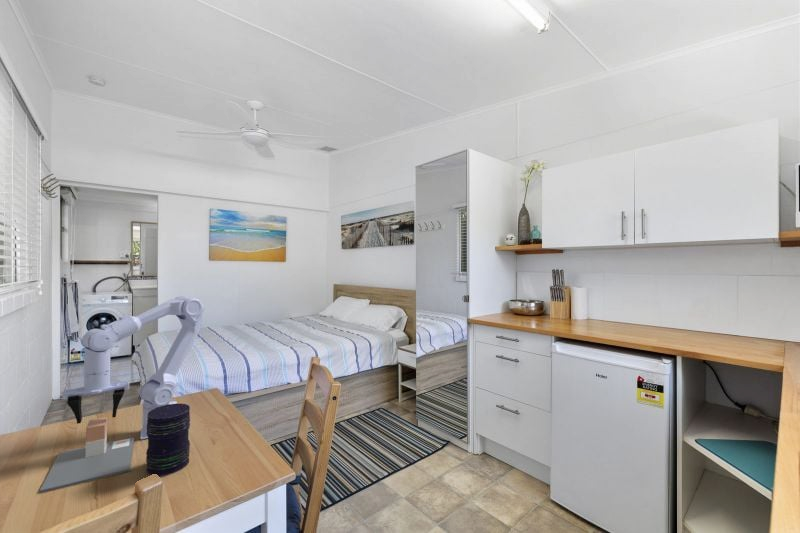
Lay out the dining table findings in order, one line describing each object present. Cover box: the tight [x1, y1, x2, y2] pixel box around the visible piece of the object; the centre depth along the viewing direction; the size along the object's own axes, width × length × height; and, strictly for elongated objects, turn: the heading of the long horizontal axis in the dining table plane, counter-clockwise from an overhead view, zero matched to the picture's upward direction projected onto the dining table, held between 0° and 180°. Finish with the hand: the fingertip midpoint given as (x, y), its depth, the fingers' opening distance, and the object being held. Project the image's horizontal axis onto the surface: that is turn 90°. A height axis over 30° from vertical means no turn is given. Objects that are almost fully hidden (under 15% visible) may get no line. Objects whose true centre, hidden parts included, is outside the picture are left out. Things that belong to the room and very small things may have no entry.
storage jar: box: [145, 403, 191, 477], centre depth 97 cm, size 10×10×15 cm
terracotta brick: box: [85, 416, 108, 443], centre depth 103 cm, size 4×6×4 cm, turn 34°
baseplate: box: [39, 436, 135, 494], centre depth 98 cm, size 17×20×1 cm
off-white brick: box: [85, 432, 108, 457], centre depth 103 cm, size 4×6×4 cm, turn 34°
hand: (97, 419), depth 103 cm, fingers open, 7 cm apart
